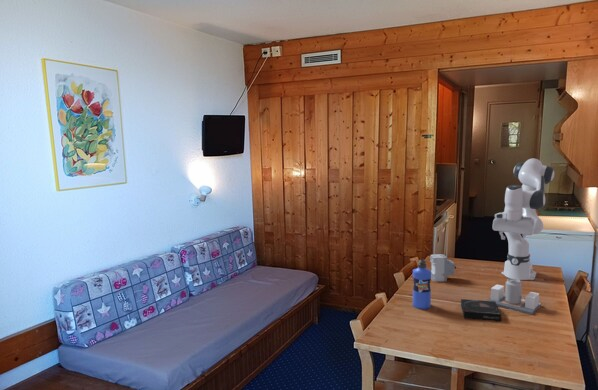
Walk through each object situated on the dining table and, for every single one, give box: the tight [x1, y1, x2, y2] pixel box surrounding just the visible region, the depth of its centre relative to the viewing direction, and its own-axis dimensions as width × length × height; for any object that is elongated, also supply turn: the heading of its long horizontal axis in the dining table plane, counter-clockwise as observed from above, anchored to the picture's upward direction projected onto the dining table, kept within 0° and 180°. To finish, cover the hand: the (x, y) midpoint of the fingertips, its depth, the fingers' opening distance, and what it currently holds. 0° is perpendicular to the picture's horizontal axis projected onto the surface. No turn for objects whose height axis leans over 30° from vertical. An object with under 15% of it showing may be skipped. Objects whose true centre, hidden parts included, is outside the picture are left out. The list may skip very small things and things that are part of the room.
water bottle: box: [412, 258, 432, 310], centre depth 218 cm, size 9×9×25 cm
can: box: [504, 278, 523, 304], centre depth 217 cm, size 8×8×12 cm
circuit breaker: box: [429, 253, 457, 283], centre depth 259 cm, size 8×14×15 cm, turn 89°
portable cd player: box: [460, 298, 502, 322], centre depth 209 cm, size 16×17×4 cm
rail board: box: [486, 284, 542, 316], centre depth 218 cm, size 15×22×7 cm
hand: (512, 240), depth 226 cm, fingers open, 8 cm apart
